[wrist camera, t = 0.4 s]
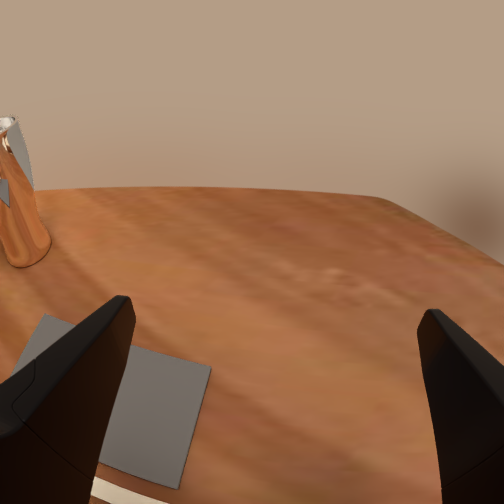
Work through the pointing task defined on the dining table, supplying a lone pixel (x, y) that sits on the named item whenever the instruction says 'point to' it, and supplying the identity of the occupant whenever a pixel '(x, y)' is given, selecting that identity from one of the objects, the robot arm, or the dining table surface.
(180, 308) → the dining table surface
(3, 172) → the beer glass
